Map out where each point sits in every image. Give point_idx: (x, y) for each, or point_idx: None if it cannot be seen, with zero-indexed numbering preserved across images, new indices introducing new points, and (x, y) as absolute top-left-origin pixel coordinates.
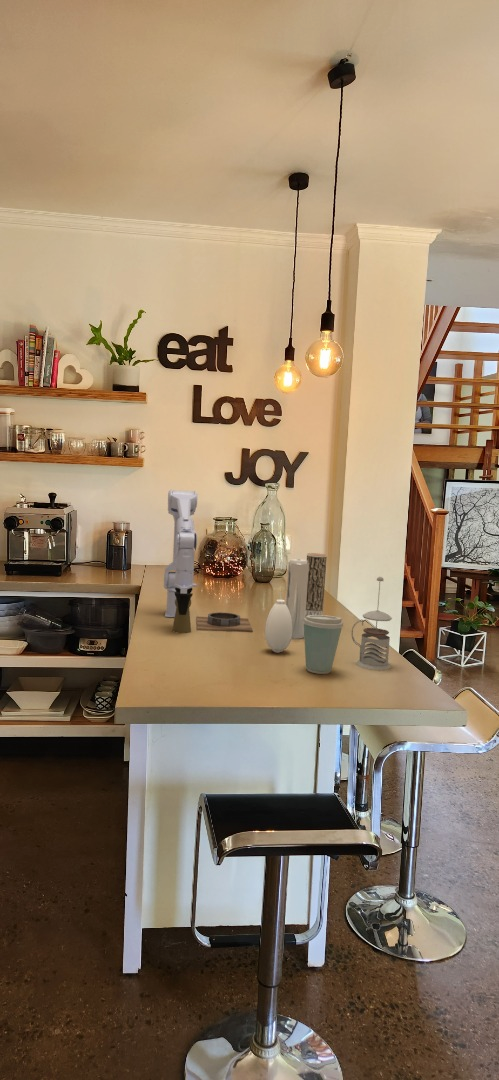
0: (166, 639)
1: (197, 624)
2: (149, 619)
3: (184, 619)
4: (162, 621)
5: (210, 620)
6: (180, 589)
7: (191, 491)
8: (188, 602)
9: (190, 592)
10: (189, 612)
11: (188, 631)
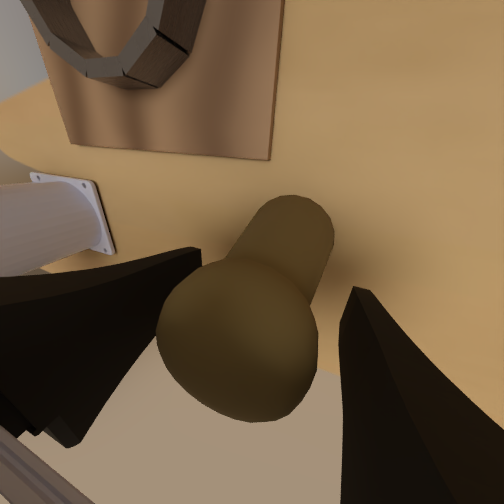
0: (456, 332)
1: (193, 151)
2: None
3: (322, 263)
4: None
5: (159, 62)
6: (56, 417)
7: None
8: (475, 410)
9: (42, 303)
10: (274, 242)
11: (324, 213)
